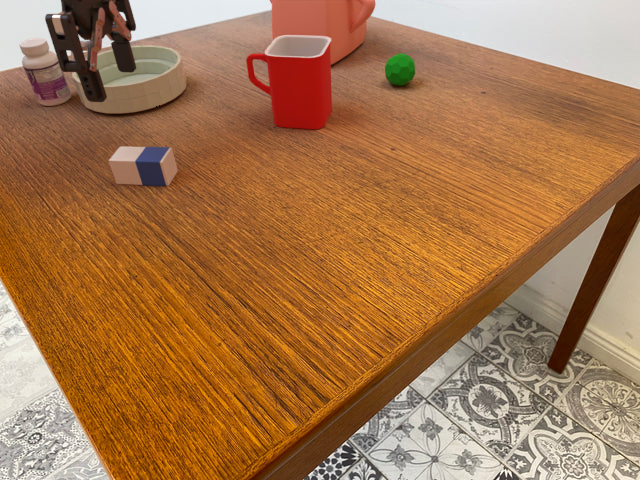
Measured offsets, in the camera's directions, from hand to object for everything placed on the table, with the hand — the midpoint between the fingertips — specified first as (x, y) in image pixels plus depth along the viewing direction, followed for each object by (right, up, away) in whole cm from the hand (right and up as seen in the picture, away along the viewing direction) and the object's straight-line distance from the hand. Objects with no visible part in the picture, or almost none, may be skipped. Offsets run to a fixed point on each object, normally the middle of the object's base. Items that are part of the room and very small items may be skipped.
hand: (113, 85), depth 64 cm
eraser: (+3, -11, +3) cm, 12 cm away
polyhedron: (+39, +6, +21) cm, 45 cm away
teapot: (+27, +18, +36) cm, 49 cm away
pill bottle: (-19, +4, +23) cm, 30 cm away
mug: (+21, 0, +14) cm, 26 cm away
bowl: (-6, +6, +23) cm, 25 cm away
